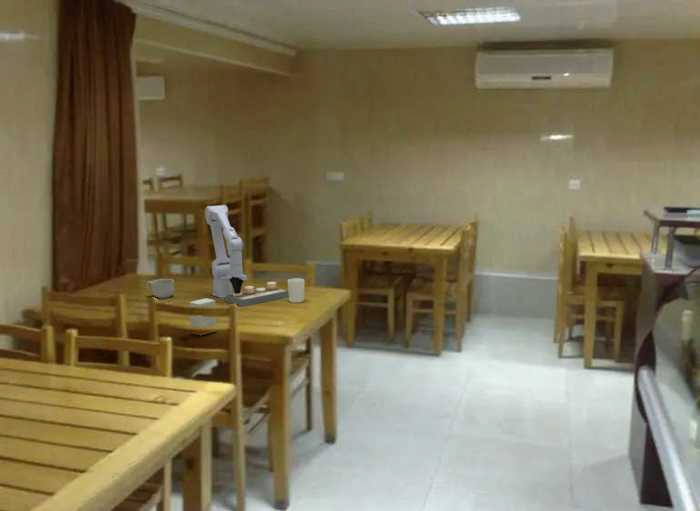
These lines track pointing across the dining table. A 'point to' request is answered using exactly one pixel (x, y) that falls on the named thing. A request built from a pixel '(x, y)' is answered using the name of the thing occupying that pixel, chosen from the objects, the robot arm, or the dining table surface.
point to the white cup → (296, 290)
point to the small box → (200, 320)
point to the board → (257, 297)
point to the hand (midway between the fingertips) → (237, 293)
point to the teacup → (161, 287)
